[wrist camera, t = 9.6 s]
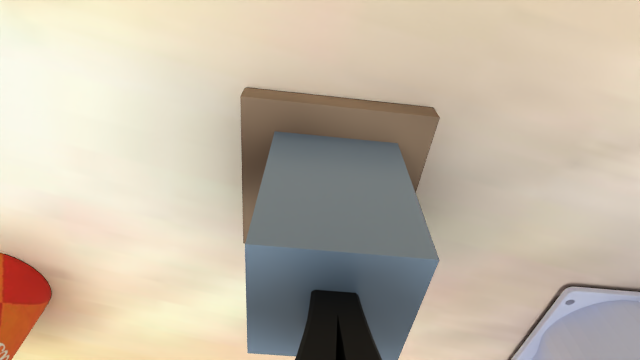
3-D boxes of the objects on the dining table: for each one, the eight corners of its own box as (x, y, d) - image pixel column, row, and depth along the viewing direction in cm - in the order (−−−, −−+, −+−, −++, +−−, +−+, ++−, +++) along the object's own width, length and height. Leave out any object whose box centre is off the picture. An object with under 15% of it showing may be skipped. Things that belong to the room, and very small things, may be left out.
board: (392, 242, 20) (395, 256, 19) (247, 230, 19) (243, 243, 18) (433, 107, 15) (439, 117, 14) (245, 87, 15) (240, 96, 14)
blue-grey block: (374, 233, 18) (396, 362, 12) (271, 225, 18) (247, 353, 12) (397, 143, 15) (439, 259, 10) (274, 131, 15) (244, 244, 9)
